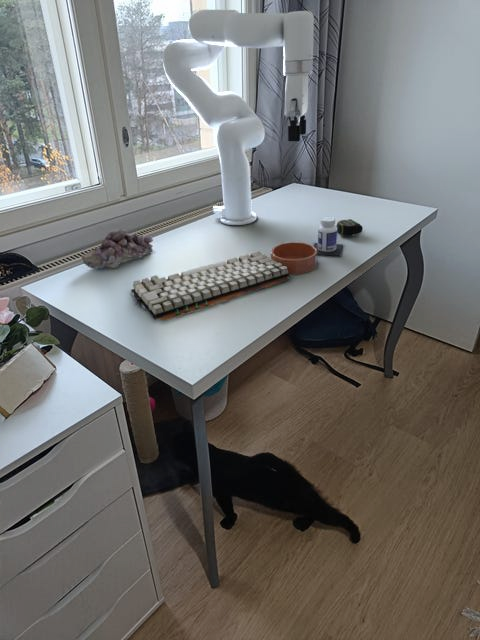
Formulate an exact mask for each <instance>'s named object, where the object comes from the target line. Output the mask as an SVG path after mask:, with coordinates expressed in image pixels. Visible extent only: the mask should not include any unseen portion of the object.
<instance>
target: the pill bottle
mask: <svg viewBox="0 0 480 640" xmlns="http://www.w3.org/2000/svg"><path fill="white" fill-rule="evenodd" d="M337 242H338V233H337V227H336V218H335V217H333V216H323V217H321V218H320V225H319V226H318V228H317V243H318V250H320V251H322V252H332V251H334V250H336V245H337V244H338V243H337Z"/></svg>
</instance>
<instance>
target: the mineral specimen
mask: <svg viewBox="0 0 480 640" xmlns="http://www.w3.org/2000/svg"><path fill="white" fill-rule="evenodd" d="M153 241H154V240H153V237H152V236H151V235H146V236H143V235H139V236H138V233H134V234H132V233H127V231H126V230H124V229H122V228H120V229H119V230H114V231H111V232H109V233H107V235H106V237H105V238H104V239H103V240H102V242H101V244H100V246H97V247H95V248H94V249H91V250H89V251H88V252H86V253H85V254H83V255H81V260H82V262H83V263H82V264H83V265H85V266H87V267H88V268H90V269H92V270H93V269H95V270H96V269H97V268H100V269H102V268H109V269H114V268H115V269H116V268H118V267H119V265H120V264H123V263H127V262H129V261H130V262H131V261H132V260H133V259H137V260H138V259H142V258H143V256H145V255H150V253H153V252H154V250H153V244H151V243H152V242H153Z"/></svg>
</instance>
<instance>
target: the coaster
mask: <svg viewBox="0 0 480 640" xmlns="http://www.w3.org/2000/svg"><path fill="white" fill-rule="evenodd" d="M313 246H314V247H315V248H316V249H317V256H320V257H321V256H322V257H323V256H324V257H340V256H341V253H342V249H343V244H341V243H337V245H336V250H334V251H332V252H322V251H320V250H318V242H314V244H313Z"/></svg>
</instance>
